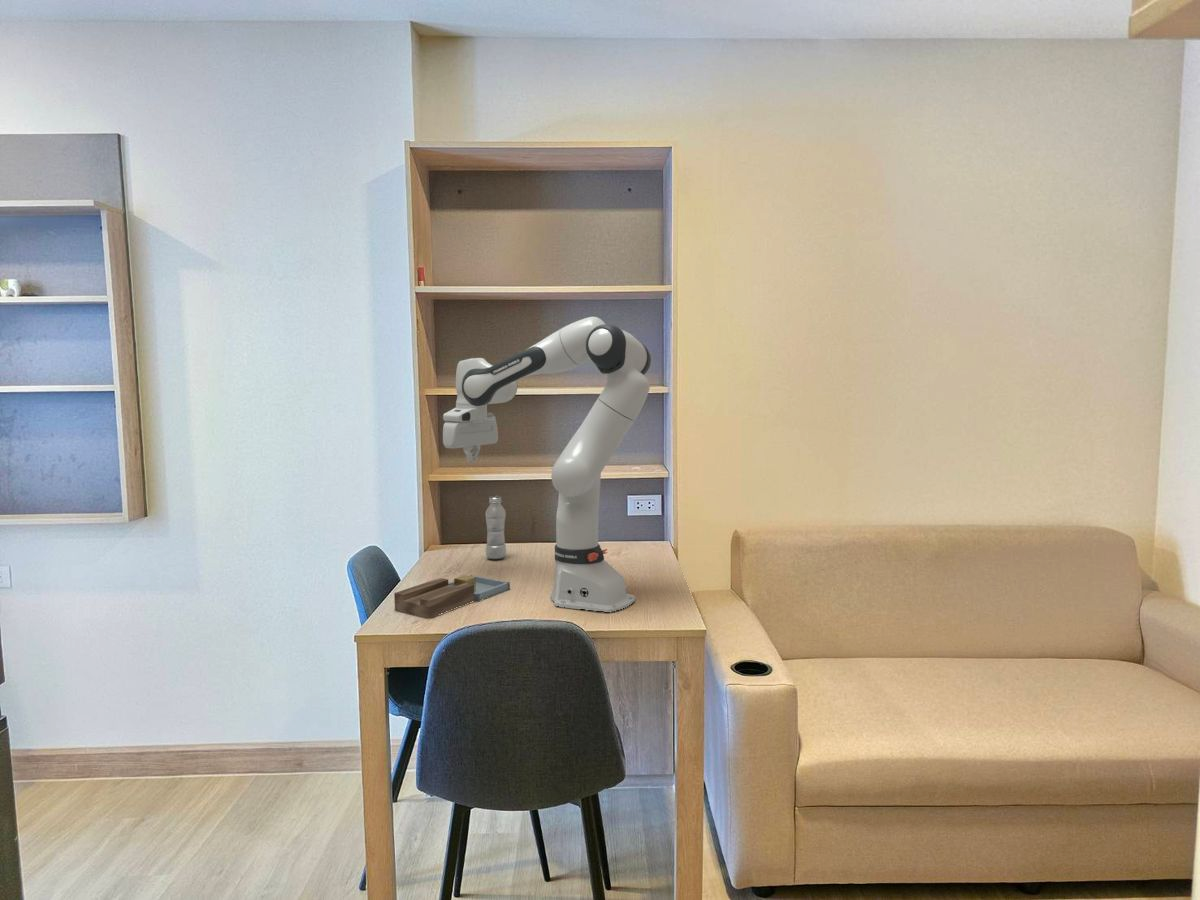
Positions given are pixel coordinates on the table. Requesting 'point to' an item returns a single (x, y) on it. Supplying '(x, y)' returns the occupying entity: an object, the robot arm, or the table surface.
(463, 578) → the brass block
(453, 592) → the slotted board
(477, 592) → the tray
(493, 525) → the plastic bottle
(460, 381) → the robot arm
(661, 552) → the table surface
